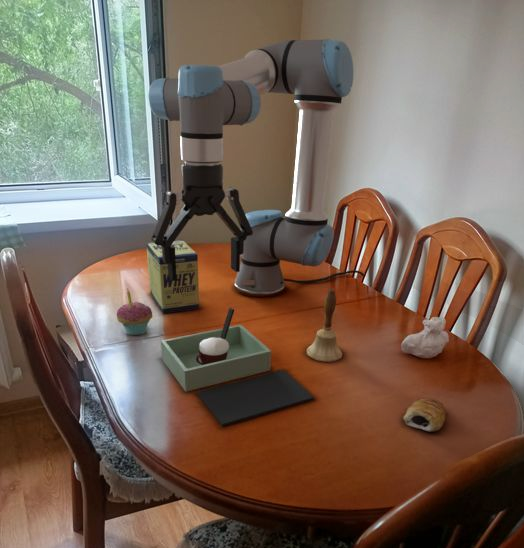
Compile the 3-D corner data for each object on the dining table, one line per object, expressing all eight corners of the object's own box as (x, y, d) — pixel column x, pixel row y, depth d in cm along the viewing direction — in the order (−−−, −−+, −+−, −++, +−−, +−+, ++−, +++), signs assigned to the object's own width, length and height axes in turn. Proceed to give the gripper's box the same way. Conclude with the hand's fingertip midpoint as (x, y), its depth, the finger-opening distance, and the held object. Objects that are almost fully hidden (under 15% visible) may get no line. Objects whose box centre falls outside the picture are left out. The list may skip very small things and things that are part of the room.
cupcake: (144, 340, 118) (140, 293, 112) (112, 336, 119) (106, 289, 114) (158, 325, 125) (155, 281, 120) (127, 321, 127) (122, 277, 121)
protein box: (162, 314, 132) (158, 258, 124) (149, 293, 144) (145, 241, 137) (200, 309, 135) (198, 254, 128) (184, 289, 148) (181, 238, 140)
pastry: (417, 401, 99) (421, 385, 97) (451, 413, 95) (456, 397, 93) (400, 424, 92) (404, 407, 90) (436, 438, 88) (441, 421, 87)
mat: (283, 371, 107) (283, 369, 107) (313, 399, 98) (314, 397, 98) (197, 393, 98) (197, 391, 98) (222, 426, 89) (222, 424, 89)
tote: (240, 342, 119) (240, 324, 116) (270, 370, 108) (271, 351, 105) (162, 359, 110) (160, 340, 108) (185, 391, 99) (184, 371, 97)
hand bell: (345, 348, 117) (352, 285, 110) (338, 364, 111) (346, 299, 103) (311, 342, 120) (316, 280, 112) (302, 358, 113) (307, 293, 105)
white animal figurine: (400, 366, 115) (425, 346, 105) (390, 337, 118) (413, 315, 108) (444, 360, 119) (471, 340, 109) (433, 332, 121) (459, 310, 111)
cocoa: (198, 374, 105) (196, 322, 99) (191, 360, 110) (189, 310, 104) (240, 367, 108) (241, 317, 102) (231, 354, 113) (232, 305, 107)
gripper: (253, 158, 98) (251, 261, 108) (128, 162, 87) (138, 276, 97) (272, 163, 92) (267, 272, 102) (140, 168, 81) (149, 288, 91)
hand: (204, 274), depth 100 cm, fingers open, 13 cm apart
